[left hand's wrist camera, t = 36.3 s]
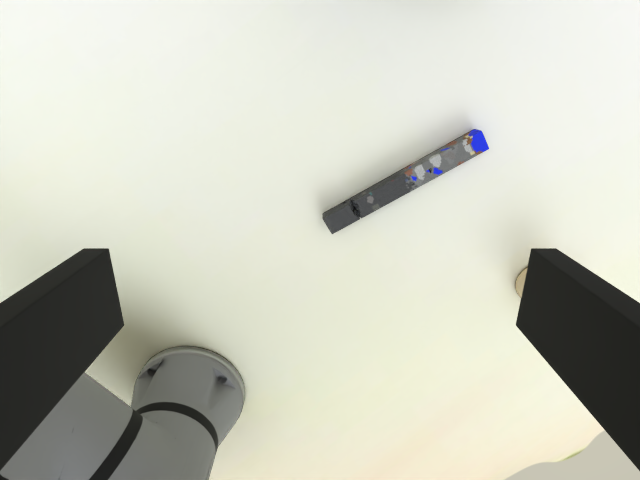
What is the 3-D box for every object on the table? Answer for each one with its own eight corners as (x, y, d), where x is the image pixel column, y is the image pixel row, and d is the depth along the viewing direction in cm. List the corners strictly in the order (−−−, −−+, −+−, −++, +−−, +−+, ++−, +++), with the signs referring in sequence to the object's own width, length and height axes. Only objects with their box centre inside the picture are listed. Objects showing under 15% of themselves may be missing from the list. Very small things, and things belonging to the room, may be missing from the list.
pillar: (322, 218, 45) (484, 129, 42) (322, 213, 47) (476, 127, 44) (332, 234, 46) (492, 147, 42) (331, 228, 48) (484, 144, 44)
